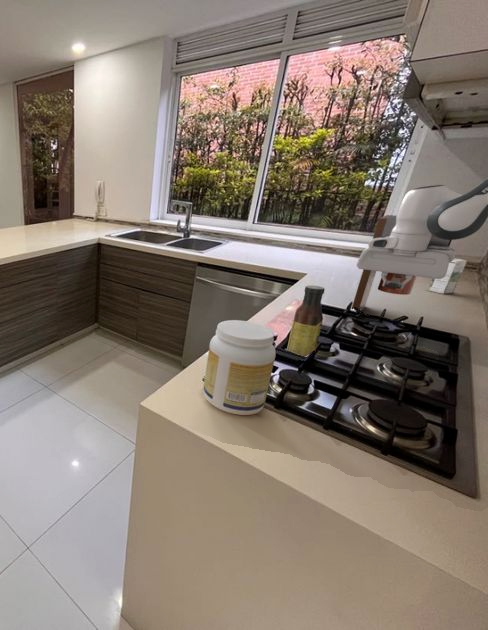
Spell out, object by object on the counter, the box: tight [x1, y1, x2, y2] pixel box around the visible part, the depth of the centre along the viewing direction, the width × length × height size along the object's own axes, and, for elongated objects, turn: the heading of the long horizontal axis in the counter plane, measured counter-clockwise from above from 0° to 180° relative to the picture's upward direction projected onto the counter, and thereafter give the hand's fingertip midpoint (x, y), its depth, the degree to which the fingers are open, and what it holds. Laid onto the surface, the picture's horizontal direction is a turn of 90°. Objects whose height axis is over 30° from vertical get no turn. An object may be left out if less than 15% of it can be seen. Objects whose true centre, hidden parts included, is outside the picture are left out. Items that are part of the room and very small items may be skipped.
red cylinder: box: [377, 273, 418, 296], centre depth 111 cm, size 8×21×7 cm, turn 133°
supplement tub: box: [202, 319, 277, 416], centre depth 71 cm, size 12×12×17 cm
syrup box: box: [427, 257, 468, 295], centre depth 145 cm, size 6×6×14 cm
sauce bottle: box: [286, 285, 326, 356], centre depth 88 cm, size 6×6×20 cm
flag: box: [351, 214, 453, 311], centre depth 114 cm, size 17×18×34 cm
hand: (392, 287), depth 106 cm, fingers closed on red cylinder
